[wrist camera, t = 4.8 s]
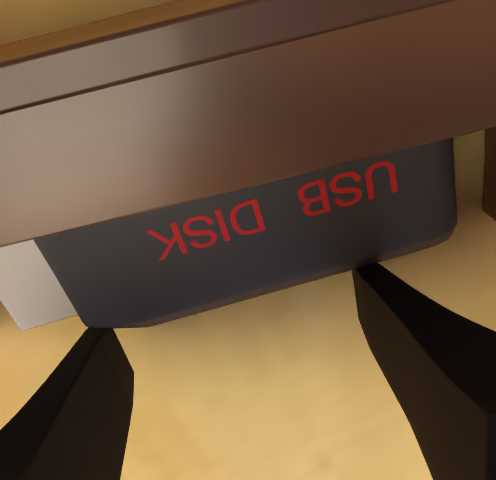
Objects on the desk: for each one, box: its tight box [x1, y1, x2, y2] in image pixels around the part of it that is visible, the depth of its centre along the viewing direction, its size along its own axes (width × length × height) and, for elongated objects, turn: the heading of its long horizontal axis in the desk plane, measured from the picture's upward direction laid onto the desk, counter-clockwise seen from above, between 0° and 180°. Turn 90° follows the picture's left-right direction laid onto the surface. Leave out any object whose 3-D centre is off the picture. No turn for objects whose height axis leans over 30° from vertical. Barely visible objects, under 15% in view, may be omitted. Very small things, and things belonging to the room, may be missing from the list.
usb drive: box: [0, 137, 457, 331], centre depth 12 cm, size 5×12×3 cm, turn 106°
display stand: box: [0, 0, 496, 247], centre depth 10 cm, size 8×17×6 cm, turn 103°
